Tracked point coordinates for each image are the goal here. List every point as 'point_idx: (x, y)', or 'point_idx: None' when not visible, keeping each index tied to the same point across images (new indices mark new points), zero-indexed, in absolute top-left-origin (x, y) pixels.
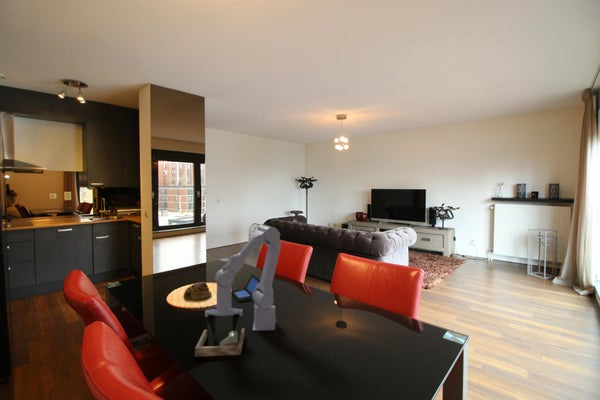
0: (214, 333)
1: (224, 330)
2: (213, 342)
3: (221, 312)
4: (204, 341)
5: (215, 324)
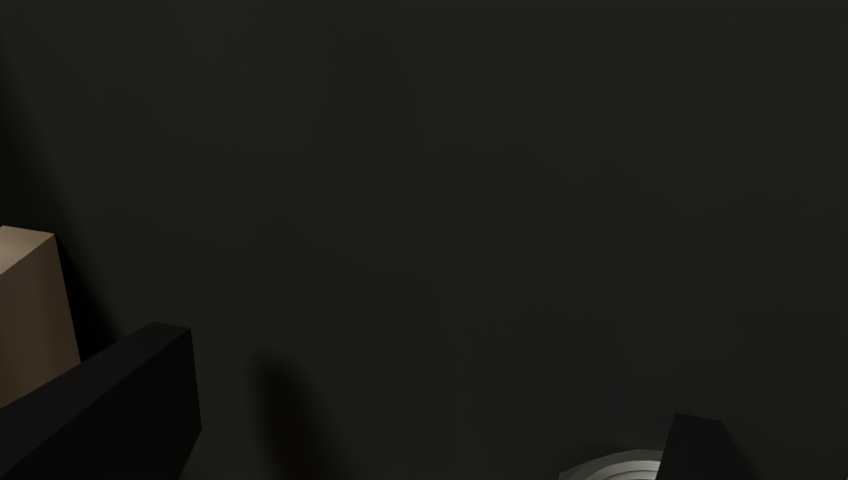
0: (185, 454)
1: (408, 10)
2: (255, 447)
3: None
4: None
5: (56, 459)
